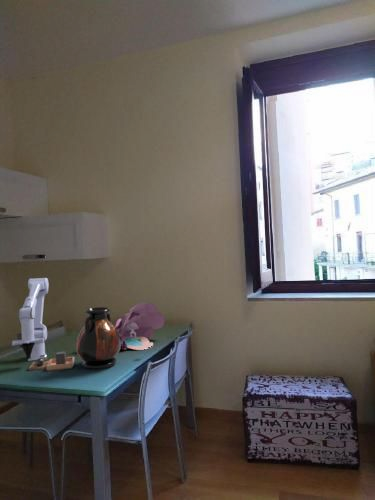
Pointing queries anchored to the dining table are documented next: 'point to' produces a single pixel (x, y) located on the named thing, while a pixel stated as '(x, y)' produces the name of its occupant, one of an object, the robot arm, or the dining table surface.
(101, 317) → the amphora vase
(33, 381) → the dining table surface
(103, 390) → the dining table surface
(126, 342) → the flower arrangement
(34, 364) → the crank base
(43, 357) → the crank lever
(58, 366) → the tray
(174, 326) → the dining table surface
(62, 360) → the stop block
